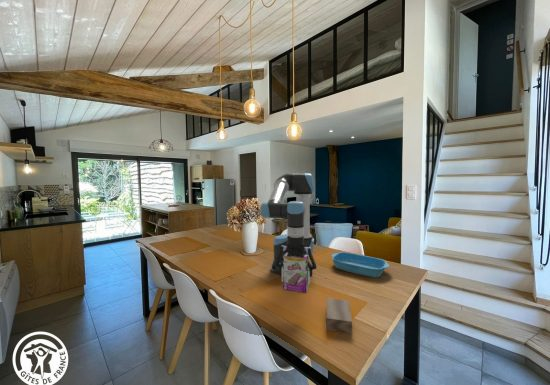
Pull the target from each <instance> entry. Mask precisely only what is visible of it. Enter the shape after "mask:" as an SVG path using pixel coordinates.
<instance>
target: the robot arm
mask: <svg viewBox="0 0 550 385" xmlns="http://www.w3.org/2000/svg"><path fill="white" fill-rule="evenodd" d="M314 185H315V184H314V178H313V175H312V173H310V172H309V173H307V172H303V173H302V172H301V173H299V172H298V173H296V172H295V173H293V172H291V173H290V172H289V173H285V174H283V175H281V176H280V177H277V179H276V180H275V181H274V183H273V190H272V192H271V194H270V196H269V199H268V201H267V202H262V203H261V204H260V208H259V210H260V212H259V213H260V216H261V218H265V219H287V220H286V221H287V226H286V227H287V229H286V230H287V231H286V232H287V233H286V234H285V233H284V234H280V235H277V236H275V237H274V238H273V243H272V245H273V260H272V262H271V266H270V267H271V272H272V273H274V274H276V275H281V282H282V283H283V256H284V255H285V253H288V254H287V256H290V255H292V256H300V257H304V256H305V255H308V256H309V260H310V261H308V262H307V267H308V286H310V285H311V278H312V277H313V271H314V270H317V263H316V260H315V258H314V256H313V251H314V244H315V243H314V242H315V238H313V235H312V234H311V233H310V230H311V229H310V227H311V223H310V218H311V217H310V216H311V214H310V213H311V212H310V204H311V202H310V199H311V198H310V197H311V196H312V194H313V192H315V186H314ZM287 192H293V195H294V196H295V198H296V199H295V200H293V201H289V202H284V199H285V196H286V193H287Z"/></svg>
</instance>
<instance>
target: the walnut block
mask: <svg viewBox="0 0 550 385" xmlns="http://www.w3.org/2000/svg"><path fill="white" fill-rule="evenodd" d="M325 316H326V317H325V322H326V323H325V324H326V325H325V329H326V331H329V332H331V331H332V332H338V333H344V334H351V335H352V334H353V319H352V318H353V317H352V313H351V305H350V300H349V299H348V300H347V299H338V298H331V297H327V298H326V315H325Z"/></svg>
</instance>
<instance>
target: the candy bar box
mask: <svg viewBox="0 0 550 385" xmlns="http://www.w3.org/2000/svg"><path fill="white" fill-rule="evenodd" d="M287 254H288V253H285V255H284V256H283V282H282V290H284V291H289V292H295V293H301V294H307V293H308V291H309V285H308V267H307V262H308V261H309V260H310V258H309V256H308V255H305V256H304V257H300V256H292V255H290V256H287ZM309 262H310V261H309Z"/></svg>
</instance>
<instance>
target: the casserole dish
mask: <svg viewBox="0 0 550 385" xmlns="http://www.w3.org/2000/svg"><path fill="white" fill-rule="evenodd" d="M331 257H332V258H331V259H332V261H333V264H334V266H335V268H336V269H339V270H341V271H345V272H348V273H351V274H355V275H360V276H365V277H368V278H379V277H380V276H382V274H383V273H384V271H385V269H388V268H389V267H390V264H389V263H388V262H387V260H384V259H383V258H377V257H373V256H367V255H363V254H357V253H355V252H354V253H352V252H347V251H340V252H336V253H332V254H331Z"/></svg>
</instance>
